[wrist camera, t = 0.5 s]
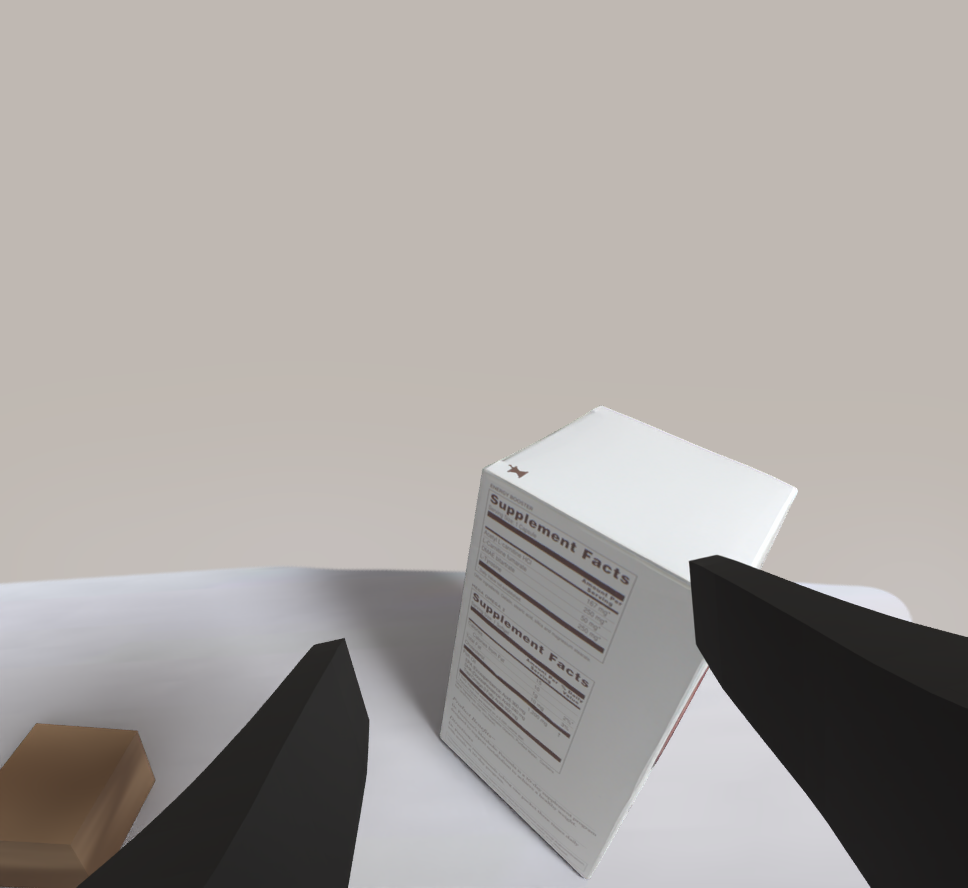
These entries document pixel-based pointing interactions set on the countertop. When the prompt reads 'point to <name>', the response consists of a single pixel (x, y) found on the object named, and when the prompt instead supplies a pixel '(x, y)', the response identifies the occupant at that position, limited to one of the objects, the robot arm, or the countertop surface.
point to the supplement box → (591, 616)
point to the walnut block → (68, 803)
